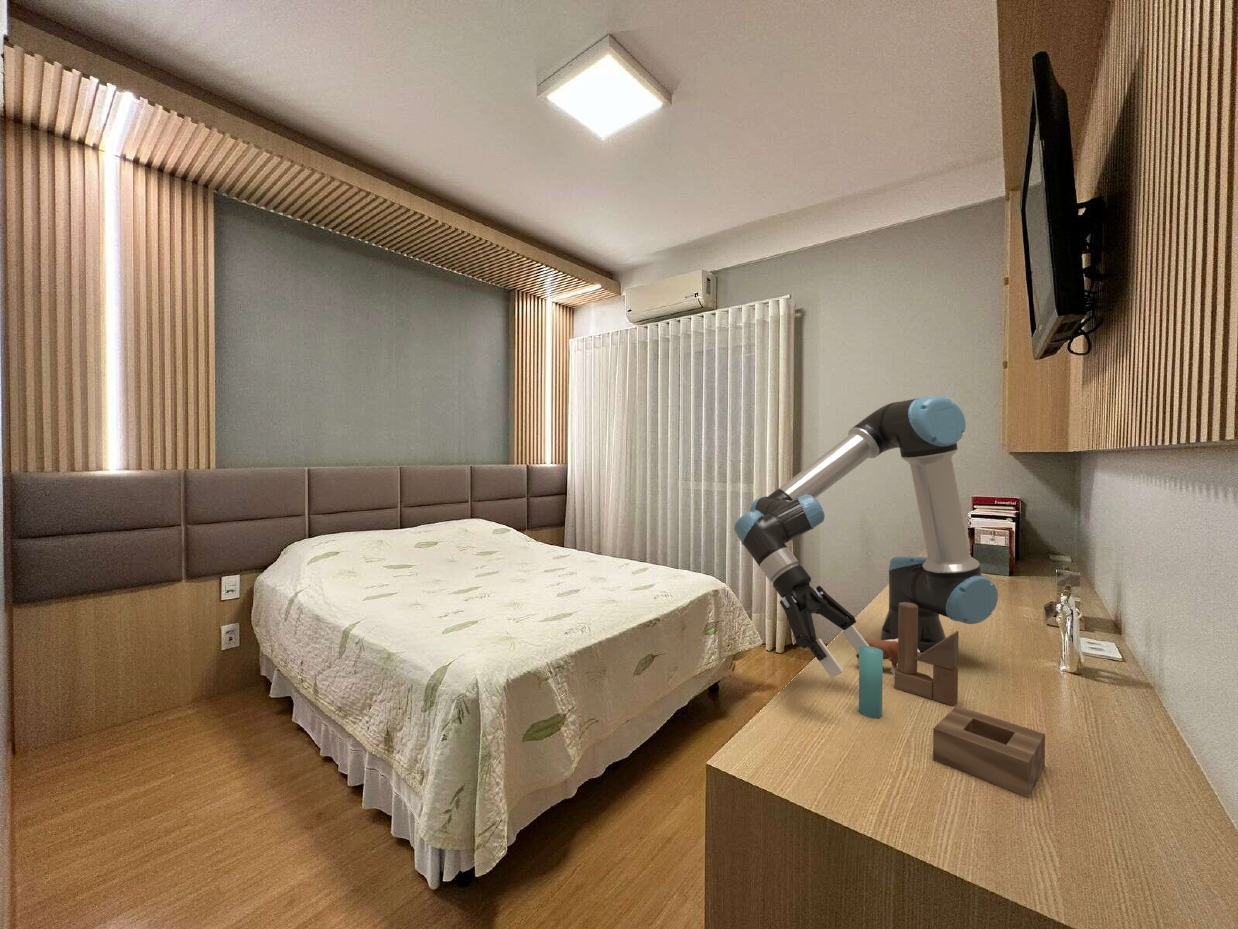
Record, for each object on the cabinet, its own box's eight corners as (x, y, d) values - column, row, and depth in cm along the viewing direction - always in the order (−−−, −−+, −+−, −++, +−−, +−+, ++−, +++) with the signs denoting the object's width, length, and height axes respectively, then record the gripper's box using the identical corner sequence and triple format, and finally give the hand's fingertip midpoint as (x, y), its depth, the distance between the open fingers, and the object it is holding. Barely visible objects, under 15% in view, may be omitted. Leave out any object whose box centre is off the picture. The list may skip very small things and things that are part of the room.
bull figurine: (921, 679, 110) (921, 643, 110) (854, 671, 115) (855, 635, 115) (916, 672, 115) (917, 636, 115) (852, 663, 119) (852, 629, 119)
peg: (863, 705, 98) (864, 644, 98) (885, 713, 95) (886, 650, 95) (854, 712, 95) (855, 649, 95) (876, 720, 92) (877, 655, 92)
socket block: (956, 734, 88) (956, 705, 88) (1044, 765, 79) (1045, 734, 79) (932, 759, 80) (933, 728, 80) (1028, 798, 71) (1028, 762, 71)
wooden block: (952, 707, 98) (954, 615, 98) (893, 688, 106) (894, 603, 106) (958, 701, 101) (959, 611, 101) (899, 683, 108) (901, 600, 108)
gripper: (804, 576, 118) (867, 659, 107) (740, 592, 102) (807, 692, 90) (826, 557, 114) (895, 642, 103) (763, 571, 98) (837, 673, 86)
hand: (854, 665), depth 97 cm, fingers open, 13 cm apart
